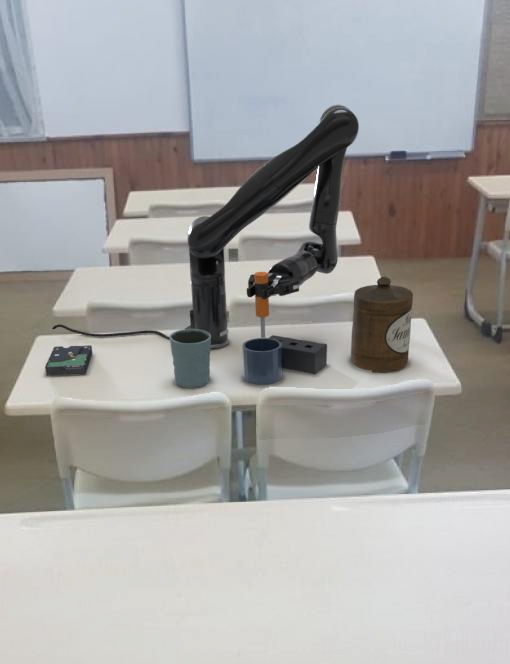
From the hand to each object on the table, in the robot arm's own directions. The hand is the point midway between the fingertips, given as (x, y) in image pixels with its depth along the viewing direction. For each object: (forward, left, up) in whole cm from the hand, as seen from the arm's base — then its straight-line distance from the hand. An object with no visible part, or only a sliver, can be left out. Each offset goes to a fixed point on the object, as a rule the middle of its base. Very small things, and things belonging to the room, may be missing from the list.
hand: (256, 294), depth 198 cm
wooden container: (+22, +26, -23) cm, 41 cm away
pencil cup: (0, +3, -22) cm, 23 cm away
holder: (+3, +14, -22) cm, 26 cm away
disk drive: (-51, -11, -22) cm, 57 cm away
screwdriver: (0, +3, -11) cm, 12 cm away
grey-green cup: (-15, -6, -22) cm, 28 cm away
